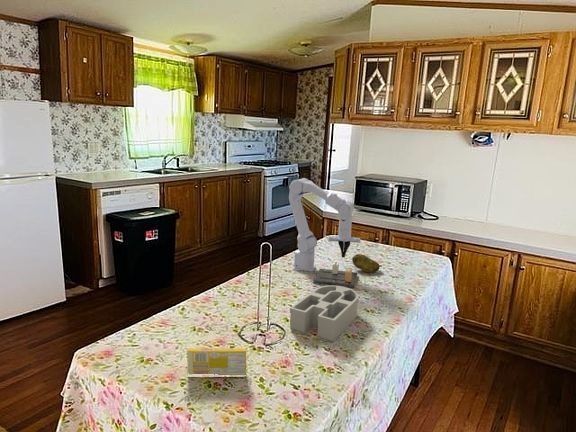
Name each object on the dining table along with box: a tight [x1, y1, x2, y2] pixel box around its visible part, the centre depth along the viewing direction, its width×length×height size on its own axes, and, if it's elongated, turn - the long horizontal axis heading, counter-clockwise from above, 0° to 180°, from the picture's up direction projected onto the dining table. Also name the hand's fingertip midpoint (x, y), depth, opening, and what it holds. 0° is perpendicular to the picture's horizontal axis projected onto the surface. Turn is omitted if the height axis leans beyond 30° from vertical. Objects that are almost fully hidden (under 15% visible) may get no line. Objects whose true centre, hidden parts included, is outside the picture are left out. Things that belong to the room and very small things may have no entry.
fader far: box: [331, 261, 340, 274], centre depth 194 cm, size 2×4×5 cm, turn 165°
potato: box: [351, 253, 380, 273], centre depth 202 cm, size 8×13×8 cm, turn 61°
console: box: [312, 268, 358, 289], centre depth 191 cm, size 18×16×2 cm
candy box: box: [186, 347, 247, 376], centre depth 115 cm, size 16×2×8 cm, turn 92°
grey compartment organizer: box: [289, 285, 360, 344], centre depth 149 cm, size 17×28×9 cm, turn 150°
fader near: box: [345, 268, 353, 282], centre depth 185 cm, size 2×4×5 cm, turn 165°
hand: (343, 256), depth 193 cm, fingers closed
